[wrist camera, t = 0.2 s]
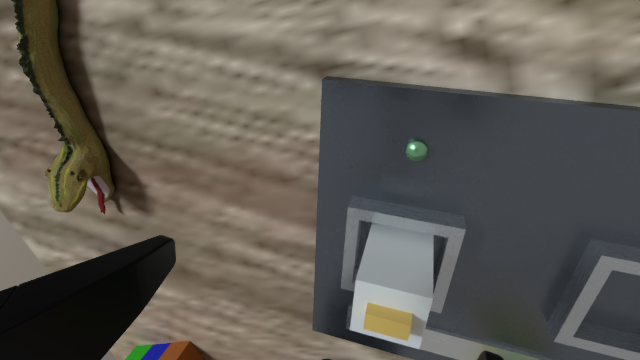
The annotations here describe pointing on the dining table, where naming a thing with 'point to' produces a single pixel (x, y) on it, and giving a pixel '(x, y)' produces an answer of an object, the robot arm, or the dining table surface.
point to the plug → (394, 285)
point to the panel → (486, 217)
